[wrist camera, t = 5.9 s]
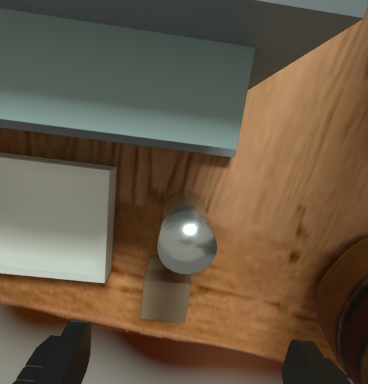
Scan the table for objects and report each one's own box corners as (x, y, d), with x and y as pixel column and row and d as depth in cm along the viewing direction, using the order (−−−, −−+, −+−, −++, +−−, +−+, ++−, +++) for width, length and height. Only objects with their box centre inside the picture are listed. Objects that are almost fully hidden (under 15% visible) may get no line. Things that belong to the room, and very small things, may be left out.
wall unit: (245, 80, 21) (426, -63, 6) (231, 156, 23) (340, 205, 7) (-20, 41, 20) (-717, -278, 4) (-13, 125, 22) (-490, 106, 6)
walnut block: (189, 259, 26) (190, 284, 22) (184, 292, 27) (184, 322, 23) (150, 255, 26) (144, 280, 21) (146, 288, 27) (140, 318, 23)
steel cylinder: (207, 194, 24) (221, 224, 16) (201, 232, 25) (211, 276, 17) (166, 189, 24) (160, 217, 16) (162, 228, 25) (154, 271, 17)
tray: (116, 166, 23) (109, 170, 21) (111, 269, 26) (104, 283, 24) (-16, 150, 22) (-39, 152, 20) (-5, 257, 25) (-25, 270, 23)
